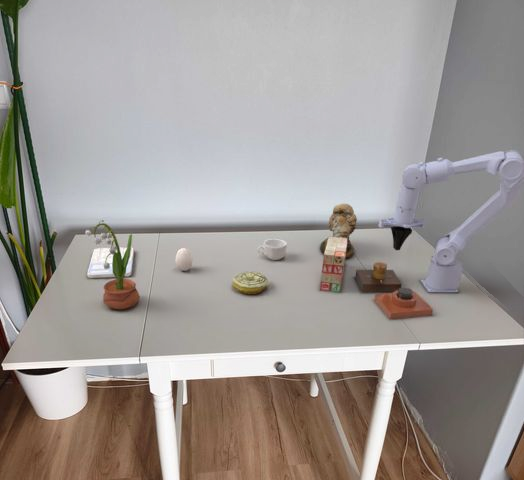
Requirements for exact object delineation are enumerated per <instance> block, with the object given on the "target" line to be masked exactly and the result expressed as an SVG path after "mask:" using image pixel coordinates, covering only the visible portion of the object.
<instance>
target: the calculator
mask: <svg viewBox="0 0 524 480" xmlns="http://www.w3.org/2000/svg"><path fill="white" fill-rule="evenodd" d="M110 248H111V247H99V248H98V247H97V248H94V249H93V251H92V255H91V257H90V258H91V259H90V262H89V265H88V269H87V273H86V274H87V275H86V276H87V278H89V279H104V278H105V279H106V278H116V277H115V275H114V274H113V270H112V262H113V254H110V251H109V249H110ZM119 248H120V252H121V257H122V259H123V256H124V254H125V252H126V249H127V246H125V247H121V246H119ZM134 250H135V249H134V248H133V247H132V246H131V251H130V258H129V261H128V264H127V268H126V273H125V275H124V278H127V277H130V276H132V271H133V261H134V256H135V255H134V254H135V251H134ZM115 252H117V249H116V251H115ZM109 254H110V255H109ZM108 255H109V256H108ZM107 256H108V257H107ZM106 258H107V260H106ZM105 261H106V262H107V263H109V264H110V267H111V268H109V269H104V266H103V265H104V263H105Z"/></svg>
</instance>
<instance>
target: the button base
mask: <svg viewBox="0 0 524 480" xmlns="http://www.w3.org/2000/svg"><path fill="white" fill-rule="evenodd" d="M412 291H413V294H412V298H411V299H410V300H404V299H401V298H399V297H398V296H397V295H398V290H397V291H395V292H393V293H376V294H374V298H373V301H374V302H375V304H376V305H377V306H378V307H379V308H380V309H381V312H383V313H384V314H385V316H386V317H387V318H388V319H389V320H397V319H398V320H399V319H409V318H417V317H418V318H419V317H428V316H432V315H433V311H434V309H433V308H432V306H430V305H429V304H428V303H427V302H426V300H424V299H423V298H422V297H421V296H420V295H419V294H418V293H417V292H416V291H415V290H412Z"/></svg>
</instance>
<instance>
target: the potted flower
mask: <svg viewBox="0 0 524 480" xmlns="http://www.w3.org/2000/svg"><path fill="white" fill-rule="evenodd" d="M104 221H105V220H100V221H99V222H98V224H97V225H96V226H91V227H90V228H89V229H86V230H85V233H84V235H85V236H87V237H91V234H92V231H91V229H93V228H94V230H93V236H94V239H93V241H94V243H96V244H95V245H96V246H97V245H100V244H101V243H103V240H104V241H105V244H106V245H111V246H110V247H109V248H110V249H109V251H110V254H113V262H112V270H113V274H114V275H115V277H114V278H116V279H112V280H109V281H108V282H106V283H104V285H103V290H104V293H103V297H102V301H103V303H104V305H106V306H107V307H108V308H110V309H114V310H125V309H129V308H132V307H134V306H136V305H137V303H138V302H139V300H140V293H139V291H138V289H137V288H136V286H137V284H136V282H135V281H134V280H132V279H128V278H125V277H124V275H125V273H126V268H127V264H128V261H129V258H130V251H131V247H132V242H133V233H131V234H129V236H128V241H127V245H126V247H127V249H126V252H125V254H124V256H123V259H122V257H121V252H120V245H119V242H118V239H117V237H116V234H115V232H114V231H113V229H112V228H111V227H110V226H109V224H107V223H106V222H105V223H104ZM100 226H104V227H103V228H102V229H101V233H100V236H97V235H96V231H97V229H98V228H99V227H100ZM105 228H106V230H105ZM106 232H107V233H106ZM112 239H113V240H112ZM114 244H115V245H114ZM116 249H117V252H115V251H116ZM110 254H109V255H110ZM109 255H108V256H109ZM108 256H107V257H108ZM106 260H107V258H106ZM103 266H104V269H109V268H111V267H110V264H109V263H107V262H106V261H105V263H104V265H103Z"/></svg>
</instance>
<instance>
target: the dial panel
mask: <svg viewBox="0 0 524 480" xmlns="http://www.w3.org/2000/svg"><path fill="white" fill-rule="evenodd" d="M372 273H373V269H356V270H355V273H354V274H355V275H354V279H355V281H356V283H357V285H358V288H359V290H360V292H361V293H362V294H388V293H393V292H395V291H397V290H399V289H400V288H402V286H403V285H402V282H401V280H400V279H399V276H397V274H396V273H395V270H394V269H386V275H385V278H384V279H375V278H373V277H372Z"/></svg>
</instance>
